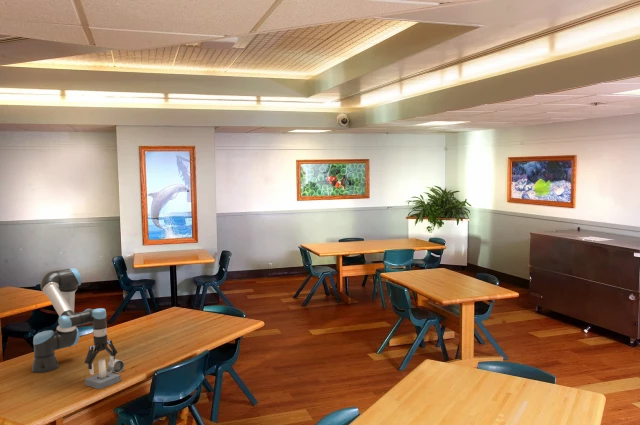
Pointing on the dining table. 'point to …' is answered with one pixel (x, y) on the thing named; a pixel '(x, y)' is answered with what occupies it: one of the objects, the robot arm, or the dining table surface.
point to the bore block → (103, 383)
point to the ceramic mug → (116, 366)
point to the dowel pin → (102, 368)
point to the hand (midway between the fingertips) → (102, 370)
